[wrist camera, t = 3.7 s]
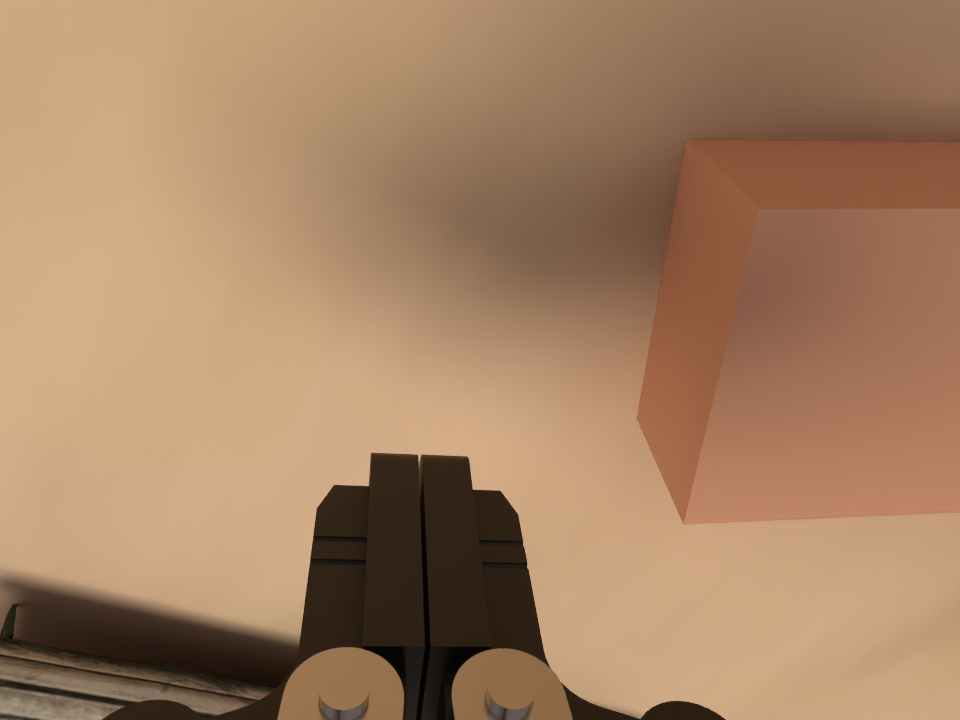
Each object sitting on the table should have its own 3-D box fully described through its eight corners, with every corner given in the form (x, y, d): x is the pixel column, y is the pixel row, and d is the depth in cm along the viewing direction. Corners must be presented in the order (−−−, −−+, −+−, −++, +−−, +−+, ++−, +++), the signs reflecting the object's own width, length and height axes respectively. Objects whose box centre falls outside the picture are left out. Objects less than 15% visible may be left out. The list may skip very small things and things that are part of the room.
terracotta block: (634, 413, 23) (683, 524, 19) (682, 136, 18) (759, 208, 15) (895, 405, 23) (992, 510, 20) (1001, 138, 19) (1151, 208, 15)
